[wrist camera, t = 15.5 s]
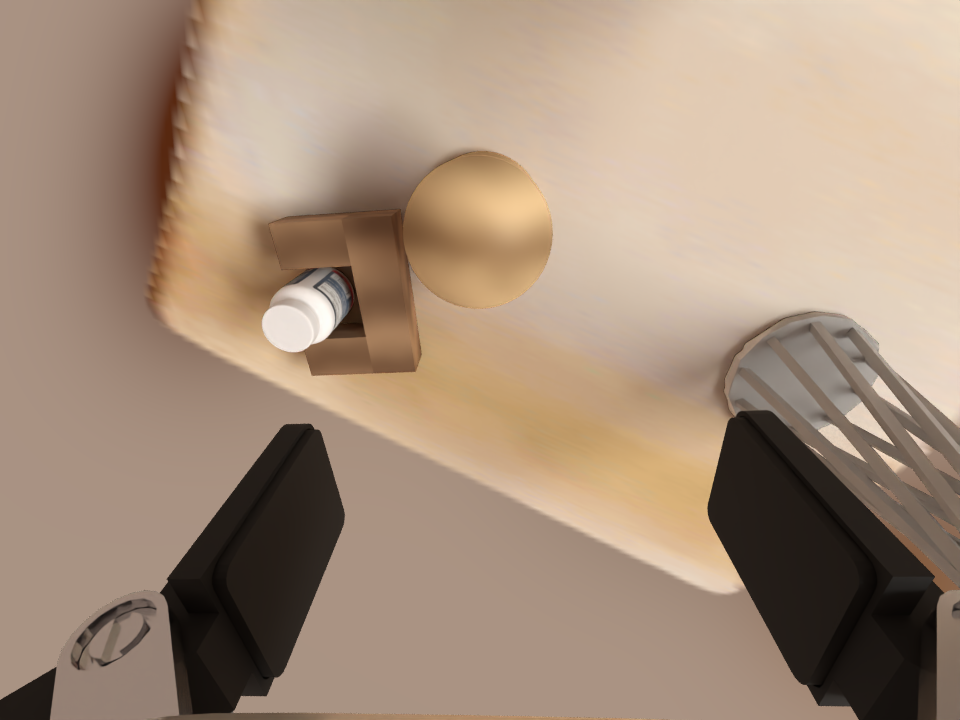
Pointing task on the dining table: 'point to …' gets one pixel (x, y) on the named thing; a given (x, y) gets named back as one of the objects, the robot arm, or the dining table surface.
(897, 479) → the grey lattice tower
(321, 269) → the pill bottle
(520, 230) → the wooden spool
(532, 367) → the dining table surface
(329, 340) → the notched board
